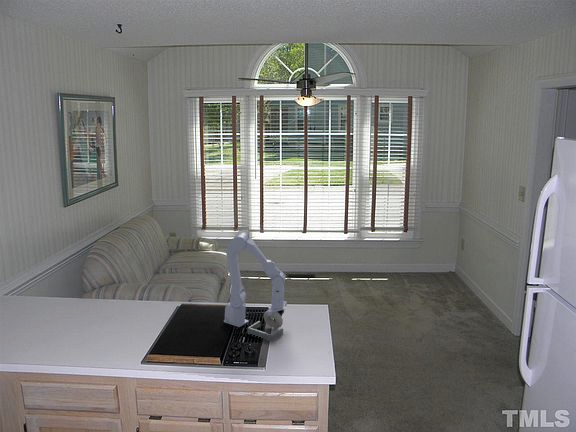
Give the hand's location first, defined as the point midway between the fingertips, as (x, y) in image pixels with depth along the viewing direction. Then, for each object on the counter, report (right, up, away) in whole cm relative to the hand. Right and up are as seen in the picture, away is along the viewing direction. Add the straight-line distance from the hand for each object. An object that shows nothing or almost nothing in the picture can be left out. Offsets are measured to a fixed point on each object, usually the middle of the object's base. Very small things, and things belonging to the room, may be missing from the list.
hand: (276, 324), depth 243 cm
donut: (-1, -1, -1) cm, 2 cm away
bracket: (-5, -3, -8) cm, 10 cm away
